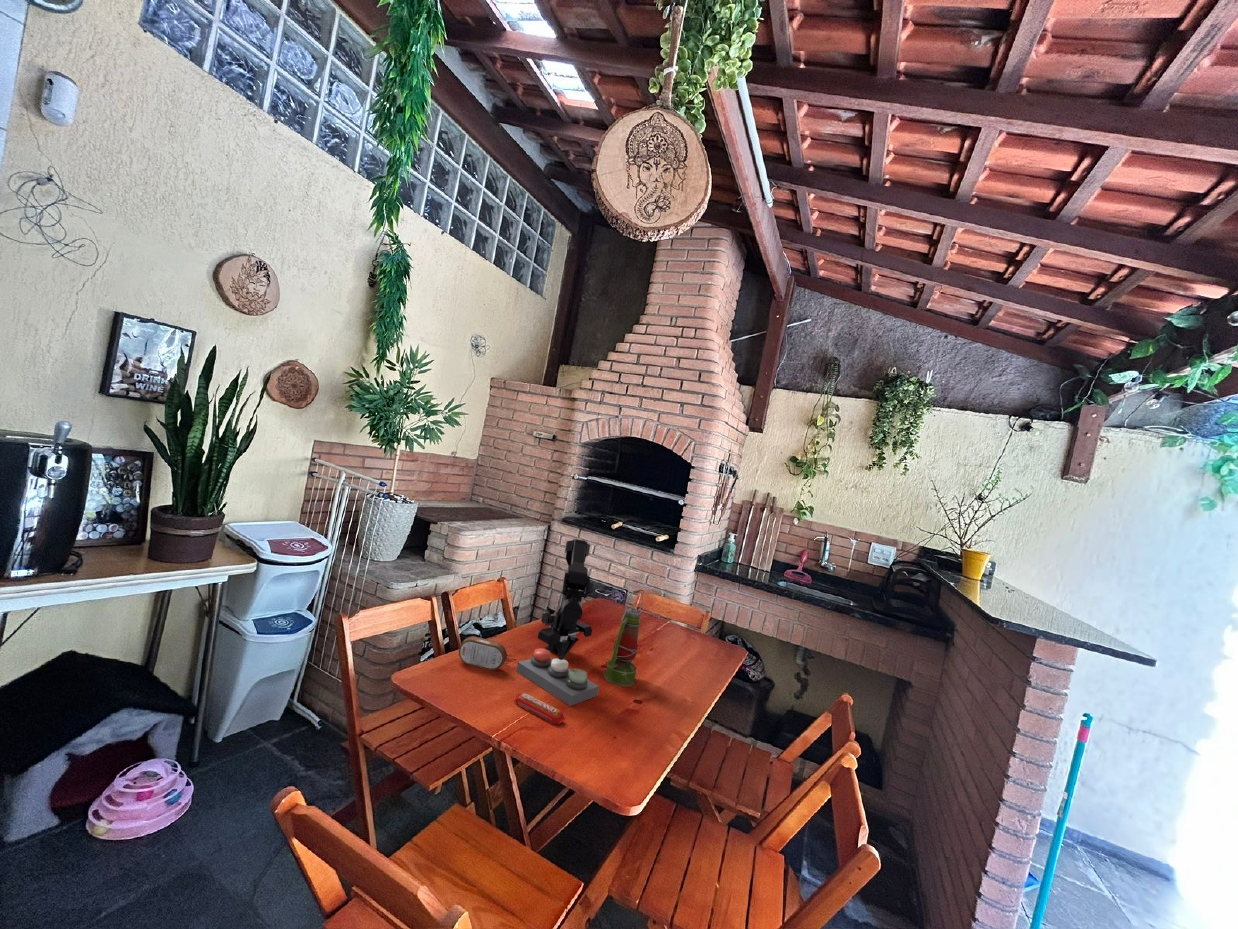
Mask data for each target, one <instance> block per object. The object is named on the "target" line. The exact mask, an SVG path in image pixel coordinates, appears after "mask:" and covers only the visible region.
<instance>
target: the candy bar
mask: <svg viewBox="0 0 1238 929" xmlns="http://www.w3.org/2000/svg"><path fill="white" fill-rule="evenodd" d="M514 701H515V704H516V703H517V704H516V705H518V706H519V705H520V706H519V707H520V708H522V707H523V708H522V709H524V708H525V710H526V709H527V710H526V711H528V710H529V712H530V713H532V712H533V713H532V714H534V715H535V716H538V717H539V716H540V718H541V719H543V720H545V721H547V722H549V723H552V724H553V725H560V724H561V723H563V721H564V720H566V717H565V715H564V713H563V712H562V711H561V710H560V709H558V708H556V707H554V706H552V705H550V704H548V703H547V702H544V701H542V700H540V699H538V698H537V697H535V696H532V695H530V694H528V693H527V692H520V693H518V694H517V695H516V696H515V698H514V699H513V702H514Z"/></svg>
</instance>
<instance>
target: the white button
mask: <svg viewBox="0 0 1238 929" xmlns="http://www.w3.org/2000/svg"><path fill="white" fill-rule="evenodd" d="M552 659H553V660H552V663H551V669H552V670H553V671H556V672H566V671H567V668H568V667H569V662H568V660H566V659H565V658H564V659H563V660H559V658H552Z"/></svg>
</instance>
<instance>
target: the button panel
mask: <svg viewBox="0 0 1238 929" xmlns="http://www.w3.org/2000/svg"><path fill="white" fill-rule="evenodd" d="M533 657H534V654H533V655H532V656H531V658H529V659H524V660H520V661H517V666H516V672H517V673H518V674H520V675H521V676H523V677H524V678H526V679H527V678H528V679H527V680H529V681H530V682H531V683H533V682H534V683H533V684H535V685H536V686H539V688H541V689H542V690H545V691H546V692H547V691H548V694H551V695H552V696H553V697H555V698H557V699H558V700H560V701H561V702H563V703H564V704H566V705H567V706H569V707H572V706H574V705H576V704H580V703H582V702H585V701H587V700H590V699H592V698H595V697H598V694H599V688H600V686H599V685H598V684H596V683H594V682H593V681H592V680H589V679H588V678H586V682H585V683H582V684H578V683H574V682H572V681H570V680H569V675H570V671H571V670H572V669H570V668H567V671H566V672H556V671H553V670H552V669H551V663H552V660H553V659H554V658H552V657H550V660H549V661H547V662H540V661H537V660H535V659H534V658H533Z"/></svg>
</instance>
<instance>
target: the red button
mask: <svg viewBox="0 0 1238 929" xmlns="http://www.w3.org/2000/svg"><path fill="white" fill-rule="evenodd" d="M533 655H534V657H533V658H534V659H535V660H537V661H540V662H547V661H549V660H550V658H551V655H552V652H551V651H549V650H548V649H546V648H535V649H534V653H533Z"/></svg>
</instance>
